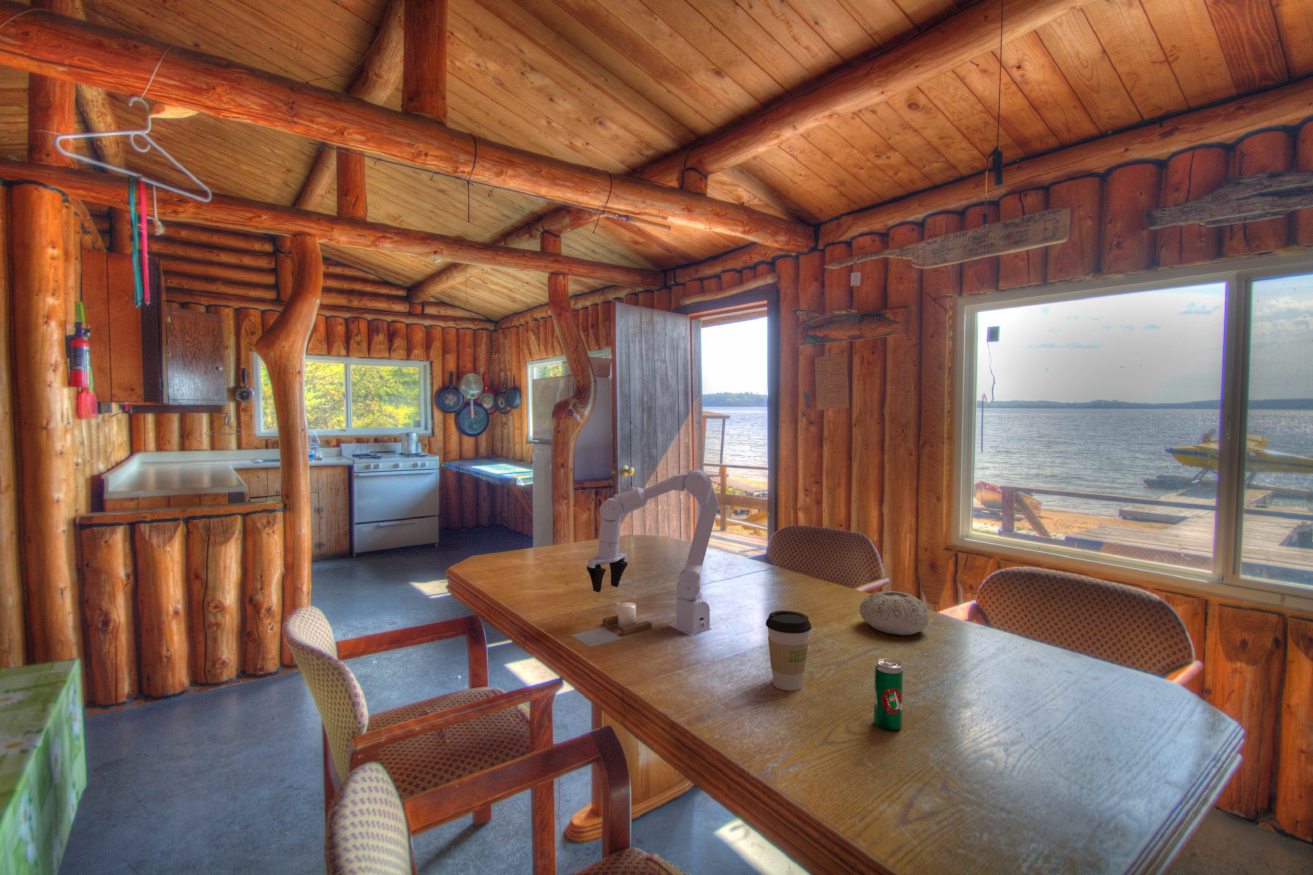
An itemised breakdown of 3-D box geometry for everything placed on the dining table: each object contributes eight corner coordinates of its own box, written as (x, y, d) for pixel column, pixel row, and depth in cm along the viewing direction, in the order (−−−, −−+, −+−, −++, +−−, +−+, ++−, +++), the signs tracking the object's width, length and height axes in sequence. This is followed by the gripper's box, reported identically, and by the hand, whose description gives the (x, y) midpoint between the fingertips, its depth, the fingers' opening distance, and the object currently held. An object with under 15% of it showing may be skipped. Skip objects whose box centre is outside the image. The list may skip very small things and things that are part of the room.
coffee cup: (815, 694, 126) (816, 624, 125) (768, 694, 126) (769, 624, 125) (804, 674, 135) (805, 609, 135) (761, 674, 136) (762, 609, 135)
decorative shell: (862, 637, 159) (863, 600, 159) (856, 616, 177) (857, 583, 176) (934, 643, 155) (935, 605, 155) (921, 621, 172) (921, 587, 172)
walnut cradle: (651, 630, 164) (651, 622, 164) (624, 637, 158) (624, 629, 158) (629, 619, 172) (629, 612, 172) (602, 625, 167) (602, 618, 167)
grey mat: (622, 639, 156) (622, 638, 156) (589, 648, 150) (589, 646, 150) (602, 629, 164) (602, 627, 164) (570, 636, 158) (570, 635, 158)
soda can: (878, 715, 117) (880, 655, 117) (905, 724, 114) (906, 662, 113) (869, 725, 113) (870, 663, 113) (897, 734, 110) (898, 670, 109)
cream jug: (639, 626, 165) (639, 605, 165) (624, 630, 162) (624, 608, 162) (625, 619, 171) (625, 599, 170) (610, 623, 168) (610, 602, 167)
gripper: (615, 535, 175) (611, 580, 176) (580, 541, 164) (577, 590, 164) (633, 539, 171) (630, 586, 172) (600, 546, 159) (596, 596, 160)
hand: (605, 588), depth 168 cm, fingers open, 7 cm apart
